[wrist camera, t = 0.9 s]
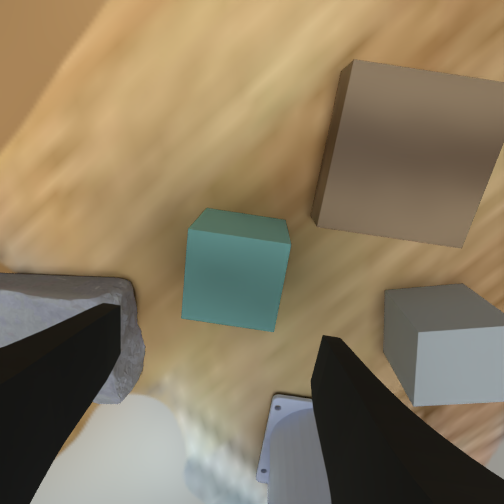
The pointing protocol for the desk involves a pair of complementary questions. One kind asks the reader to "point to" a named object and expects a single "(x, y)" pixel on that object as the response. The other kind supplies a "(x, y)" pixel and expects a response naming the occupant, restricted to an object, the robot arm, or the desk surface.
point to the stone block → (66, 306)
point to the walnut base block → (408, 153)
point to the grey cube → (445, 344)
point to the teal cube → (235, 269)
